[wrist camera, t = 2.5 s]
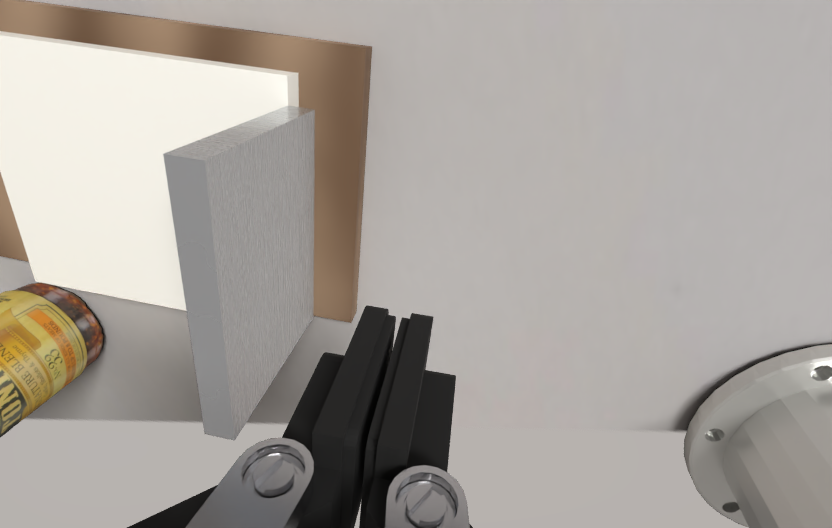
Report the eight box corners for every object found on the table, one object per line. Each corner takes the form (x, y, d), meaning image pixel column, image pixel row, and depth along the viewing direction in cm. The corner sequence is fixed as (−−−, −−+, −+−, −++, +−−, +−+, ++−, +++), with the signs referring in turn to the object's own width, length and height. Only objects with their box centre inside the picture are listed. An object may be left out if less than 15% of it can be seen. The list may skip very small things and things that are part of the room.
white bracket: (338, 72, 18) (199, 114, 10) (332, 304, 24) (236, 461, 15) (18, 28, 20) (-345, 31, 11) (79, 257, 25) (-139, 377, 16)
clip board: (371, 46, 19) (365, 48, 18) (356, 312, 25) (351, 322, 24) (-183, -28, 21) (-212, -30, 20) (-73, 231, 27) (-92, 238, 27)
